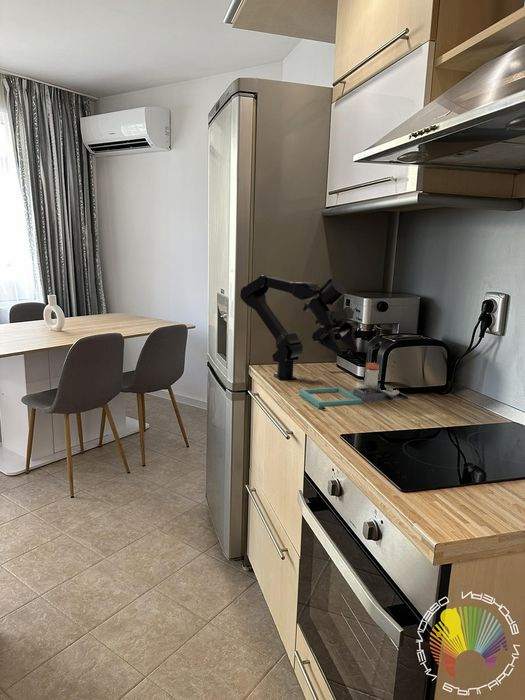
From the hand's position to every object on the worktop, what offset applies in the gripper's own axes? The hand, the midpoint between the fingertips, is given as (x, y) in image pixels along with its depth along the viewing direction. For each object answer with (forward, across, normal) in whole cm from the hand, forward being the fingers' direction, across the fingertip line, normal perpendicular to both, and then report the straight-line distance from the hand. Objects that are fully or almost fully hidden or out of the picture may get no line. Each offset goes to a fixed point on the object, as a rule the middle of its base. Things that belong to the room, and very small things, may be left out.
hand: (349, 352), depth 158 cm
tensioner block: (+16, +2, +2) cm, 16 cm away
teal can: (+11, +20, +8) cm, 24 cm away
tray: (+11, -12, +8) cm, 18 cm away
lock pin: (+15, 0, +2) cm, 15 cm away
